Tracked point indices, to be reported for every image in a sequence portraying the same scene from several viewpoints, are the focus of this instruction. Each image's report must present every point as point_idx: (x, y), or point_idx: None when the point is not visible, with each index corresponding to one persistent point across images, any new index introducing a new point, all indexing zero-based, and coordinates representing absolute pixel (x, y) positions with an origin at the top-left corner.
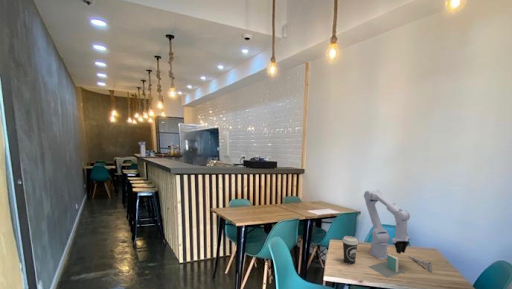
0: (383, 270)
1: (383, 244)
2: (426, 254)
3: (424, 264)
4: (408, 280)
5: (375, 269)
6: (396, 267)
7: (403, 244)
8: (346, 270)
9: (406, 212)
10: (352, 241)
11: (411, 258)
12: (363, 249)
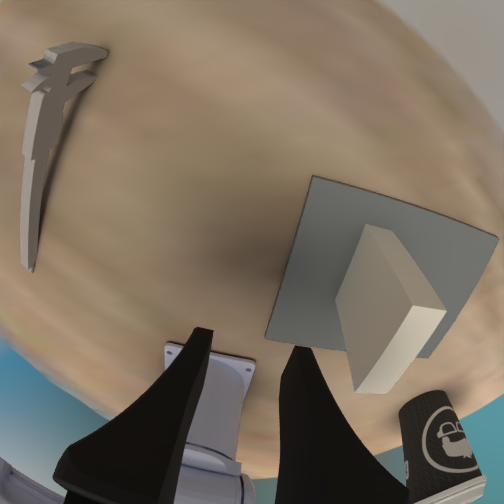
0: None
1: (208, 457)
2: None
3: (52, 126)
4: (434, 117)
5: (440, 324)
6: (403, 250)
7: (176, 461)
8: (500, 368)
9: None
10: (482, 493)
11: (35, 250)
12: None
